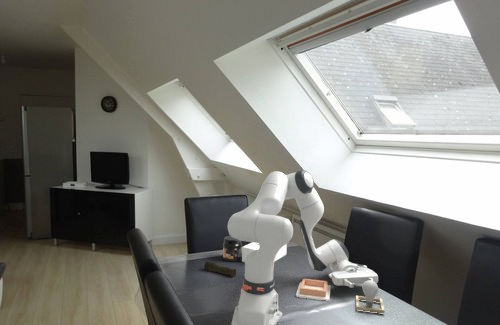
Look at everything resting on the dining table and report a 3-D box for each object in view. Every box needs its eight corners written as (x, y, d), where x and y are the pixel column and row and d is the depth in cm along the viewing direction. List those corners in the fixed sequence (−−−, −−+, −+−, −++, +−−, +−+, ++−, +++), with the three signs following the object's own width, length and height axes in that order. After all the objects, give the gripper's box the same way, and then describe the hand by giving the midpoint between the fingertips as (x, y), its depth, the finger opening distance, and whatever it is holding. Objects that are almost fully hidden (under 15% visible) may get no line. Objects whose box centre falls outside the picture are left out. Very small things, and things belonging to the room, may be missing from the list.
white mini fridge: (241, 262, 193) (242, 242, 192) (265, 250, 214) (265, 232, 213) (264, 267, 185) (264, 247, 184) (286, 254, 206) (286, 236, 205)
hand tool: (237, 276, 174) (237, 266, 174) (232, 278, 171) (232, 269, 170) (208, 267, 185) (208, 259, 184) (202, 269, 181) (202, 261, 181)
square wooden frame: (384, 315, 137) (384, 310, 136) (356, 311, 139) (356, 306, 139) (381, 303, 147) (382, 298, 146) (355, 299, 149) (355, 295, 149)
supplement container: (218, 259, 196) (219, 238, 195) (230, 254, 205) (231, 234, 204) (233, 263, 190) (234, 241, 189) (245, 258, 199) (245, 237, 198)
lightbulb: (364, 302, 147) (365, 276, 146) (379, 306, 143) (380, 280, 143) (359, 307, 143) (360, 281, 142) (374, 312, 139) (375, 285, 138)
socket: (329, 301, 147) (329, 293, 147) (295, 297, 151) (295, 289, 151) (330, 287, 161) (330, 280, 160) (300, 284, 164) (300, 276, 164)
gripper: (327, 267, 160) (339, 279, 146) (368, 265, 163) (385, 276, 150) (326, 280, 160) (339, 294, 147) (368, 278, 164) (384, 291, 150)
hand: (362, 285), depth 148 cm, fingers open, 8 cm apart
